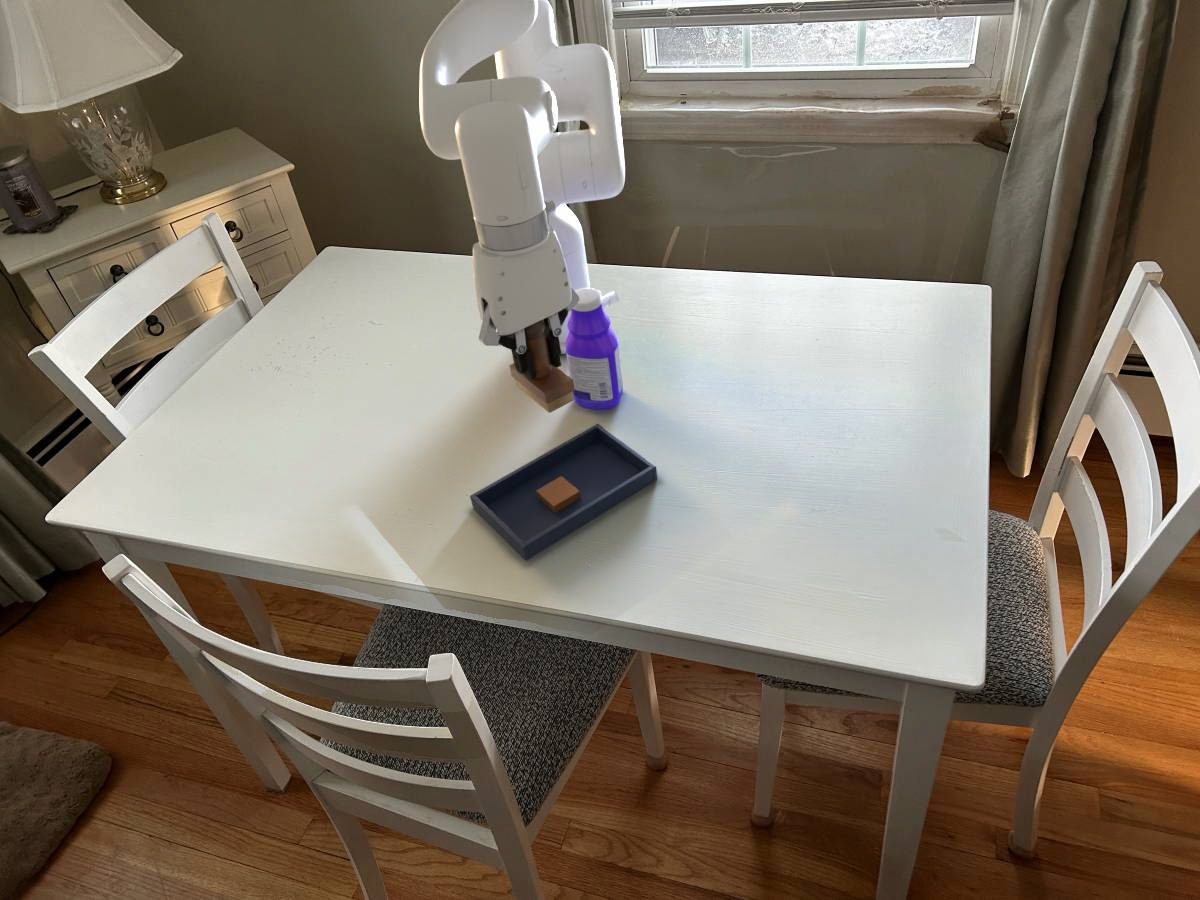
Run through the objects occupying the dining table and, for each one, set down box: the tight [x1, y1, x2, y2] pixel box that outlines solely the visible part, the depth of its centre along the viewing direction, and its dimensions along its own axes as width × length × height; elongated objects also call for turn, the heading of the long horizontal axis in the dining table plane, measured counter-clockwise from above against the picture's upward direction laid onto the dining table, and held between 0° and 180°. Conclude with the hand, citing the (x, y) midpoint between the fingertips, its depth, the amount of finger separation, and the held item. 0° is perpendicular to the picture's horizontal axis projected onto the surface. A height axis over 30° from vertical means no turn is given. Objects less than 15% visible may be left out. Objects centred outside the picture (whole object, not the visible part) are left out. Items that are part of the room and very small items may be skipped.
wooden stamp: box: [508, 319, 575, 414], centre depth 106 cm, size 4×8×11 cm, turn 35°
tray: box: [469, 423, 658, 562], centre depth 114 cm, size 20×12×3 cm, turn 127°
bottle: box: [565, 287, 624, 410], centre depth 124 cm, size 7×6×17 cm
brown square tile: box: [536, 476, 581, 513], centre depth 114 cm, size 4×4×1 cm
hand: (539, 367), depth 107 cm, fingers closed on wooden stamp, 2 cm apart
